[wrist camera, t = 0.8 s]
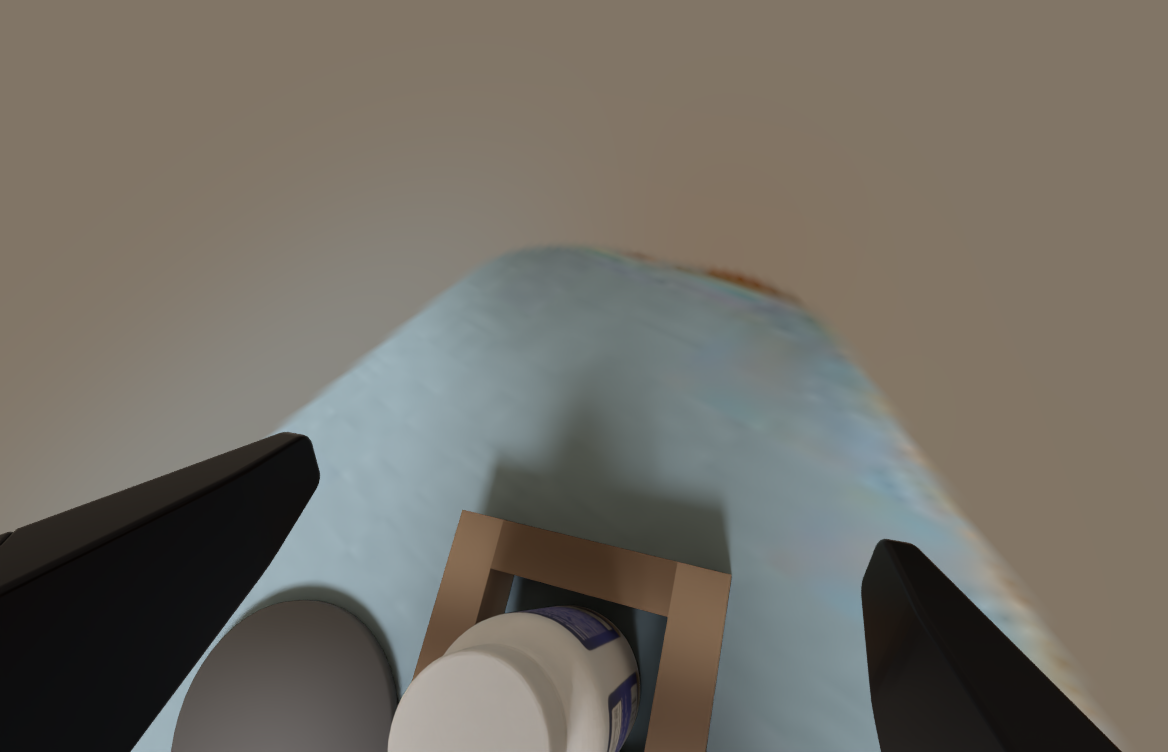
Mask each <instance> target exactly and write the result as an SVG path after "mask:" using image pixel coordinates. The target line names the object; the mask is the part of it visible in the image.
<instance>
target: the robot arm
mask: <svg viewBox="0 0 1168 752" xmlns="http://www.w3.org/2000/svg"><path fill="white" fill-rule="evenodd" d="M319 480H320V471H319V467H318V464H317V460H316V456H315V453H314V449H313V445H312V442H311V440H310V439H309V438H308V437H307V436H305V435H301V434H296V433H290V432H282V433H279V434H276V435H273V436H270V437H268V438H265V439H262V440H259V441H257V442H254V443H251V444H249V445H246V446H243V447H240V448H238V449H235V450H232V451H229V452H227V453H224V454H221V455H218V456H216V457H213V458H210V459H207V460H205V461H202V462H199V463H196V464H194V465H191V466H188V467H186V468H183V469H180V470H177V471H174V472H172V473H169V474H166V475H164V476H161V477H158V478H155V479H153V480H150V481H147V482H144V483H142V484H139V485H136V486H133V487H131V488H128V489H125V490H123V491H120V492H117V493H114V494H112V495H109V496H106V497H103V498H101V499H98V500H95V501H92V502H90V503H87V504H84V505H81V506H79V507H76V508H73V509H70V510H68V511H65V512H62V513H60V514H57V515H54V516H51V517H48V518H46V519H43V520H40V521H38V522H35V523H32V524H29V525H26V526H24V527H21V528H18V529H17V530H15V531H14V532H7V533H4V534H1V535H0V752H131V750H132V749H133V748H134V746H135V745H136V744H137V742H138V741H139V740H140V738H141V737H142V736H143V734H144V733H145V732H146V730H147V729H148V728H149V726H150V725H151V723H152V722H153V721H154V719H155V718H156V717H157V715H158V714H159V713H160V711H161V710H162V709H163V707H164V706H165V705H166V703H167V702H168V701H169V699H170V698H171V697H172V695H173V694H174V693H175V691H176V690H177V689H178V687H179V686H180V685H181V683H182V682H183V681H184V679H185V678H186V677H187V675H188V674H189V673H190V671H191V670H192V669H193V667H194V666H195V665H196V663H197V662H198V661H199V659H200V658H201V656H202V655H203V654H204V652H205V651H206V650H207V648H208V647H209V646H210V644H211V643H212V642H213V640H214V639H215V638H216V636H217V635H218V634H219V632H220V631H221V630H222V628H223V627H224V626H225V624H226V623H227V622H228V620H229V619H230V618H231V616H232V615H233V614H234V612H235V611H236V610H237V608H238V607H239V606H240V604H241V603H242V602H243V600H244V599H245V598H246V596H247V595H248V594H249V592H250V591H251V589H252V588H253V587H254V585H255V584H256V583H257V581H258V580H259V579H260V577H261V576H262V575H263V573H264V572H265V570H266V569H267V568H268V566H269V565H270V563H271V562H272V560H273V559H274V557H275V555H276V554H277V552H278V551H279V549H280V548H281V546H282V544H283V543H284V541H285V539H286V538H287V536H288V534H289V533H290V531H291V530H292V528H293V526H294V525H295V523H296V521H297V520H298V518H299V516H300V515H301V513H302V511H303V510H304V508H305V507H306V505H307V503H308V502H309V500H310V498H311V497H312V495H313V493H314V492H315V490H316V488H317V486H318V484H319ZM861 598H862V609H863V620H864V630H865V641H866V652H867V663H868V674H869V685H870V693H871V702H872V708H873V714H874V719H875V725H876V729H877V734H878V739H879V744H880V749H881V752H1122V751H1121V750H1120V749H1119V748H1118V747H1117V746H1116V745H1115V744H1114V743H1113V742H1112V741H1111V740H1110V739H1109V738H1108V737H1107V736H1106V735H1105V734H1104V733H1103V732H1102V731H1101V730H1100V729H1099V728H1098V727H1097V726H1096V725H1095V724H1094V723H1093V722H1092V721H1091V720H1090V719H1089V718H1088V717H1087V716H1086V715H1085V714H1084V713H1083V712H1082V711H1081V710H1080V709H1079V708H1078V707H1077V706H1076V705H1075V704H1074V703H1073V702H1072V701H1071V700H1070V699H1069V698H1068V697H1067V696H1066V695H1065V694H1064V693H1063V692H1062V691H1061V690H1060V689H1059V688H1058V687H1057V686H1056V685H1055V684H1054V683H1053V682H1052V681H1051V680H1050V679H1049V678H1048V677H1047V676H1046V675H1045V674H1044V673H1043V672H1042V671H1041V670H1040V669H1039V668H1038V667H1037V666H1036V665H1035V664H1034V663H1033V662H1032V661H1031V660H1030V659H1029V658H1028V657H1027V656H1026V655H1025V654H1024V653H1023V652H1022V651H1021V650H1020V649H1019V648H1018V647H1017V646H1016V645H1015V644H1014V643H1013V642H1012V641H1011V640H1010V639H1009V638H1008V637H1007V636H1006V635H1005V634H1004V633H1003V632H1002V631H1001V630H1000V629H999V628H998V627H997V626H996V625H995V624H994V623H993V622H992V621H991V620H990V619H989V618H988V617H987V616H986V615H985V614H984V613H983V612H982V611H981V610H980V609H979V608H978V607H977V606H976V605H975V604H974V603H973V602H972V601H971V600H970V599H969V598H968V597H967V596H966V595H965V594H964V593H963V592H962V591H961V590H960V589H959V588H958V587H957V586H956V585H955V584H954V583H953V582H952V581H951V580H950V579H949V578H948V577H947V576H946V575H945V574H944V573H943V572H942V571H941V570H940V569H939V568H938V567H937V566H936V565H935V564H934V563H933V562H932V561H931V560H930V559H929V558H928V557H927V556H926V555H925V554H924V553H923V552H922V551H921V550H920V549H919V548H917V547H916V546H915V545H913V544H911V543H907V542H901V541H896V540H890V539H882V540H880V541H879V542H878V543H877V545H876V547H875V550H874V552H873V555H872V557H871V560H870V562H869V565H868V567H867V570H866V572H865V575H864V577H863V581H862V587H861Z"/></svg>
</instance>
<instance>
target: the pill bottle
mask: <svg viewBox="0 0 1168 752" xmlns="http://www.w3.org/2000/svg"><path fill="white" fill-rule="evenodd" d="M639 703H640V678H639V671H638V667H637V663H636V660H635V656H634V654H633V651H632V649H631V647H630V645H629V643H628V641H627V640H626V638H625V637H624V635H623V634H622V632H621V631H620V630H619V629H618V628H617V627H616V626H615V625H614V624H613V623H612V622H611V621H610V620H608V619H607V618H606V617H604V616H603V615H601V614H600V613H598V612H596V611H594V610H591V609H589V608H585V607H581V606H574V605H561V606H552V607H547V608H540V609H532V610H526V611H518V612H511V613H506V614H501V615H497V616H494V617H491V618H488V619H486V620H484V621H481V622H479V623H478V624H476V625H474V626H473V627H471V628H469V629H468V630H467V631H466V632H464V633H463V634H462V635H461V636H459V638H458V639H457V640H456V641H455V642H454V643H453V644H452V645H451V646H450V647H449V648H448V650H447V651H446V652H445V654H444V655H443V656H442V657H440V658H438V659H437V660H435V661H433V662H432V663H431V664H429V665H428V666H427V667H426V668H425V669H423V670H422V671H421V672H420V673H419V674H418V675H417V676H416V678H415V679H414V680H413V681H412V682H411V684H410V685H409V687H408V688H407V690H406V691H405V693H404V695H403V696H402V698H401V700H400V702H399V705H398V707H397V709H396V712H395V715H394V718H393V721H392V725H391V730H390V735H389V740H388V752H619V751H620V749H621V747H622V746H623V744H624V743H625V741H626V739H627V737H628V736H629V734H630V732H631V730H632V727H633V725H634V723H635V720H636V717H637V713H638V709H639Z"/></svg>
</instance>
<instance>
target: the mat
mask: <svg viewBox="0 0 1168 752" xmlns="http://www.w3.org/2000/svg"><path fill="white" fill-rule="evenodd" d="M397 707H398V700H397V695H396V689H395V683H394V679H393V676H392V672H391V669H390V666H389V663H388V661H387V659H386V656H385V654H384V652H383V650H382V648H381V646H380V645H379V643H378V641H377V640H376V638H375V636H374V635H373V634H372V633H371V632H370V630H369V629H368V628H367V627H366V625H364V624H363V623H362V622H361V621H360V620H359V619H358V618H357V617H356V616H354V615H353V614H351V613H350V612H348V611H346V610H345V609H343V608H341V607H338V606H336V605H334V604H330V603H326V602H322V601H312V600H298V601H288V602H282V603H278V604H274V605H271V606H268V607H266V608H264V609H261V610H259V611H257V612H255V613H254V614H252V615H250V616H248V617H247V618H245V619H244V620H243V621H241V622H240V623H239V624H237V625H236V626H235V627H233V628H232V629H231V630H230V631H229V632H228V633H227V634H226V635H225V636H224V637H223V638H222V639H221V640H220V641H219V643H218V644H217V645H216V646H215V647H214V648H213V650H212V651H211V652H210V654H209V655H208V656H207V658H206V659H205V661H204V662H203V664H202V665H201V667H200V669H199V670H198V672H197V674H196V676H195V677H194V679H193V681H192V683H191V685H190V688H189V690H188V692H187V694H186V696H185V699H184V702H183V705H182V707H181V710H180V713H179V716H178V720H177V724H176V728H175V732H174V737H173V743H172V749H171V752H388V740H389V735H390V730H391V725H392V721H393V718H394V715H395V712H396V709H397Z"/></svg>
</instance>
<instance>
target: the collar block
mask: <svg viewBox="0 0 1168 752" xmlns="http://www.w3.org/2000/svg"><path fill="white" fill-rule="evenodd" d="M514 575H517V576H520V577H524V578H527V579H531V580H535V581H538V582H542V583H546V584H549V585H553V586H557V587H560V588H564V589H567V590H571V591H575V592H578V593H582V594H586V595H589V596H593V597H597V598H600V599H604V600H607V601H611V602H615V603H618V604H622V605H626V606H629V607H633V608H637V609H640V610H644V611H647V612H651V613H655V614H658V615H662V616H666V617H668V619H667V625H666V631H665V636H664V642H663V648H662V654H661V659H660V665H659V671H658V676H657V682H656V688H655V693H654V699H653V705H652V710H651V716H650V722H649V727H648V733H647V739H646V744H645V750H644V752H706V748H707V741H708V734H709V727H710V720H711V714H712V707H713V700H714V693H715V686H716V680H717V673H718V666H719V659H720V652H721V646H722V639H723V632H724V625H725V618H726V612H727V605H728V598H729V591H730V584H731V578H732V576H731V575H730V574H726V573H722V572H717V571H713V570H709V569H705V568H701V567H697V566H693V565H688V564H684V563H680V562H676V561H672V560H668V559H664V558H660V557H655V556H651V555H647V554H643V553H639V552H635V551H631V550H627V549H622V548H618V547H614V546H610V545H606V544H602V543H598V542H594V541H589V540H585V539H581V538H577V537H573V536H569V535H565V534H560V533H556V532H552V531H548V530H544V529H540V528H536V527H532V526H527V525H523V524H519V523H515V522H511V521H507V520H503V519H499V518H494V517H490V516H486V515H482V514H478V513H474V512H470V511H466V510H462V513H461V516H460V520H459V523H458V527H457V530H456V533H455V537H454V540H453V544H452V547H451V550H450V554H449V557H448V561H447V564H446V567H445V571H444V574H443V577H442V581H441V584H440V588H439V591H438V594H437V598H436V601H435V605H434V608H433V611H432V615H431V618H430V622H429V625H428V628H427V632H426V635H425V638H424V642H423V645H422V649H421V652H420V655H419V659H418V662H417V666H416V669H415V672H414V676H413V679H412V681H413V680H414V679H415V678H416V676H417V675H418V674H419V673H420V672H421V671H422V670H423V669H425V668H426V667H427V666H428V665H429V664H431V663H432V662H433V661H435V660H437V659H438V658H440V657H442V656H443V655H444V654H445V652H446V651H447V650H448V648H449V647H450V646H451V645H452V644H453V643H454V642H455V641H456V640H457V639H458V638H459V636H461V635H462V634H463V633H464V632H466V631H467V630H468V629H469V628H471V627H473V626H474V625H476V624H478V623H479V622H481V621H484V620H486V619H488V618H491V617H494V616H497V615H501V614H504V612H505V608H506V605H507V601H508V597H509V593H510V589H511V585H512V581H513V577H514Z"/></svg>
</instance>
